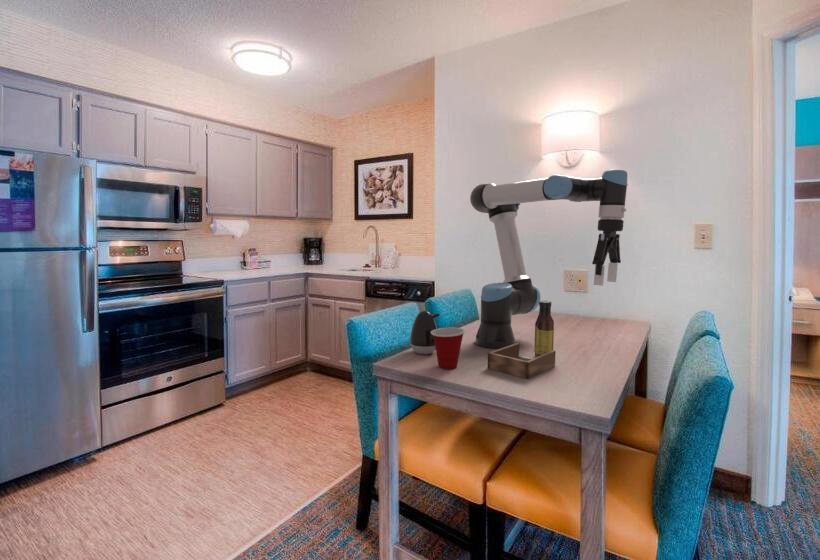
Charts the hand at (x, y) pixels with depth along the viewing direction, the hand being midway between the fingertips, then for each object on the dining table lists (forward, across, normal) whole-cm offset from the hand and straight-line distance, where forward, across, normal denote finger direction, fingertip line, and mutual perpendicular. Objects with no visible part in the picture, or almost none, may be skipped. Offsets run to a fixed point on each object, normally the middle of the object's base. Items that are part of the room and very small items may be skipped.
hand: (605, 283), depth 139 cm
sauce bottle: (+27, -10, +15) cm, 33 cm away
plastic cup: (+28, -42, +33) cm, 60 cm away
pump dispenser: (+28, -34, +49) cm, 66 cm away
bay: (+27, -25, +16) cm, 40 cm away
